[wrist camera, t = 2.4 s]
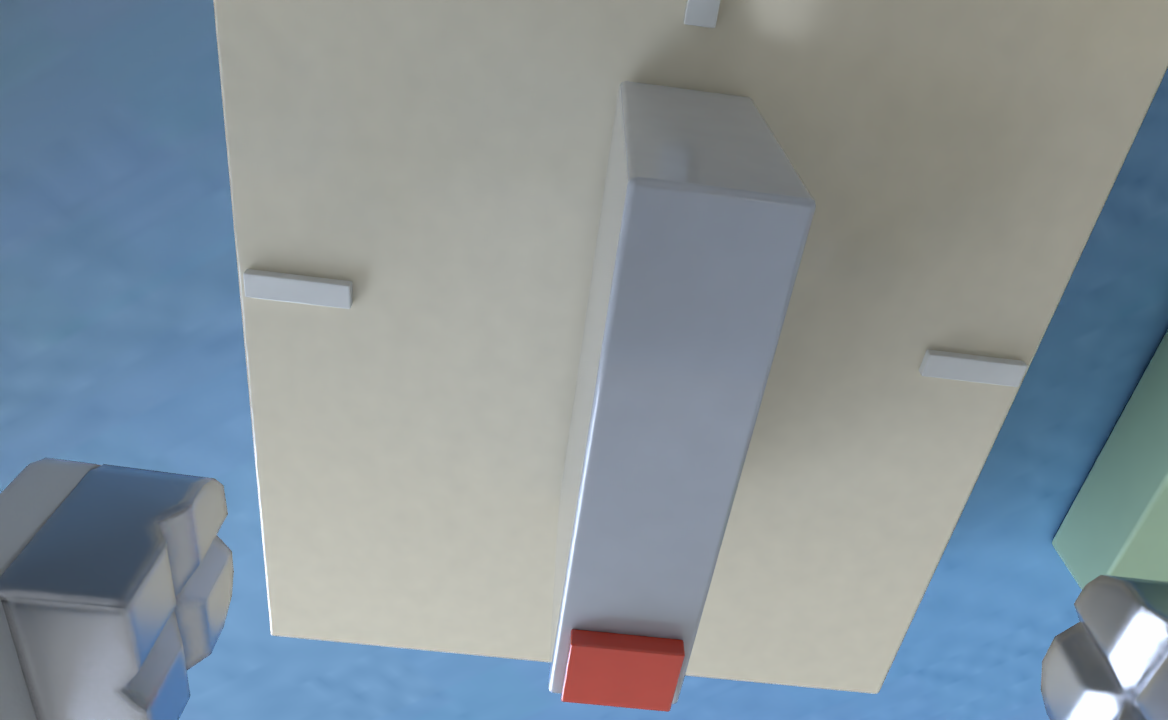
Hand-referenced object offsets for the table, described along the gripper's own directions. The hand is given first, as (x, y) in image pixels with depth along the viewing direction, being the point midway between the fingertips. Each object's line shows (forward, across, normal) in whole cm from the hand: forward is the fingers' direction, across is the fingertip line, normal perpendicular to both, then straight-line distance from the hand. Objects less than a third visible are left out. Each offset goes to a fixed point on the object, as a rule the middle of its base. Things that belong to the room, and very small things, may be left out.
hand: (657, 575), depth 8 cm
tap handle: (+4, 0, 0) cm, 4 cm away
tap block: (+7, 0, 0) cm, 7 cm away
